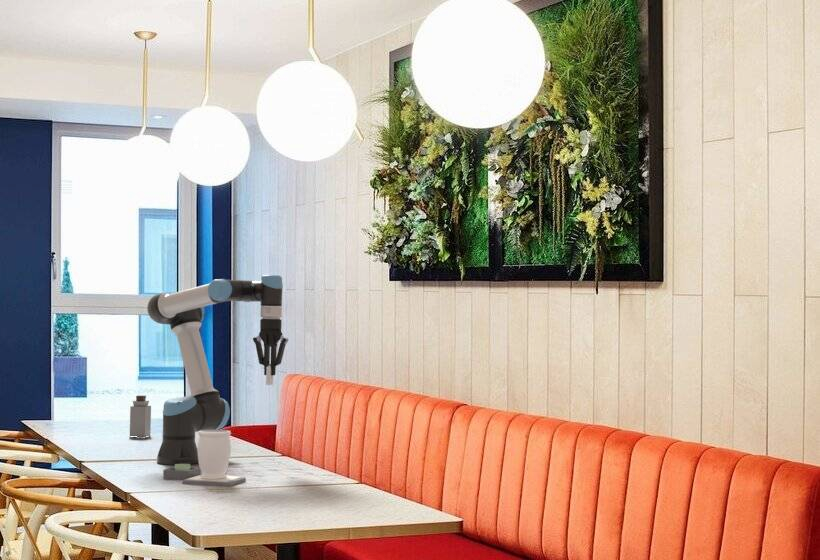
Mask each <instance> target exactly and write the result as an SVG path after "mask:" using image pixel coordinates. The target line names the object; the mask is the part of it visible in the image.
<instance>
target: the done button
mask: <svg viewBox="0 0 820 560" xmlns="http://www.w3.org/2000/svg"><path fill="white" fill-rule="evenodd" d="M174 467H175V470H185V471H187V470H190V467H191V464H175V465H174Z"/></svg>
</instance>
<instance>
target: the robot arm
mask: <svg viewBox="0 0 820 560" xmlns="http://www.w3.org/2000/svg"><path fill="white" fill-rule="evenodd" d="M283 287H284V286H283V277H282V276H281V275H279V274H277V275H276V274H263V275H262V276H261V280H245V279H244V280H242V279H241V280H240V279H239V280H238V279H226V278H218V279H212V280H211V282H210V283H207V284H203V285H199V286H196V287H195V286H194V287H192V288H188V289H183V290H179V291H177V292H173V293H171V292H162V293H158V294H155V295H153V296H152V297H151V298H150V299H149V301H148V303H147V308H146V309H147V314H148V316H149V318H150V319H151V320H152V321H154V322H155V323H157V324H160V325H169V327H170V330H171V333H173V334H174V335H176V338H177V342H178V346H179V349H180V354H181V359H182V362H183V367H184V372H185V375H186V378H187V384H188V386H189V387H188V388H189V391H190V395H189V396H178V397H171V398H169V399H167V400H166V401H164V403H163V409H162V441H161V445H160V446H159V447H160V448H159V449H158V450H159V451H158V453H157V457H156V462H157V464H160V465H172V466H173V465H174V466H175V464H190V465H194V464H199V460H198V451H197V449H198V445H197V443H196V433H198V431H201V430H222V428H224V427H225V426H226V425H227V423H228V421H229V419H230V413H231V410H230V405H229V402H228V401H227V400H226V399H225V398H222V397H220V393H219V390H218V389H215V388H214V386H213V380H212V377H211V373H210V368H209V365H208V359H207V357H206V353H205V349H204V345H203V341H202V336H201V333H200V329H201V327H202V325H203V323H202V322H203V320H204V317H205V316H204V315H205V307H207V306H211V305H216V304H219V303H223V302H245V303H251V302H252V303H253V302H254V303H255V302H259V303H260V317H261V319H260V321H259V322H260V323H259V325H260V326H259V329H260V331H259V332H258V335H257V336H255V337H253V338H252V340H253V343H254V345H255V349H256V354H257V358H258V363H259V365H262V366H263V374H264V376H266V377H265V383H266V384H265V385H266V386H273V385H274V376H276V374H277V373H276V371H277V370H276V368H277V366H279V365H281V364H282V361H283V357H284V352H285V349H286V345H287V343H288V341H289V338H288V337H285V336H284V335H283V333H282V319H281V318H283V313H282V312H283V307H282V306H283ZM279 342H280V343H279ZM262 343H263V346H262ZM278 343H279V347H278ZM277 349H278V350H277Z"/></svg>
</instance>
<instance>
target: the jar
mask: <svg viewBox="0 0 820 560" xmlns="http://www.w3.org/2000/svg"><path fill="white" fill-rule="evenodd" d="M231 431H232V430H227V429H217V430H201V431H198V432H197V434H198V436H199V438H198V442H197V451H198V460H199V463H198V465H199V467H198V468H200V469H201V475H200V477H201V478H204V479H223V478H226V477H227V476H228V475H227V474H226V472H227V470H228V467H229V463H230V458H231V451H232V449H231V448H232V447H231V446H232V445H231V439H230V435H232V432H231Z"/></svg>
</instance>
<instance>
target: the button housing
mask: <svg viewBox="0 0 820 560" xmlns="http://www.w3.org/2000/svg"><path fill="white" fill-rule="evenodd" d="M201 474H202V471H201V469H200V467H193V466H190V470H187V471H185V470H175V466H173V467H170V468H165V469H163V475H162V477H163V478H162V479H163V480H173V481H174V480H175V481H183V480H185V479H188V478H192V477H195V476H198V475H201Z"/></svg>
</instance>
